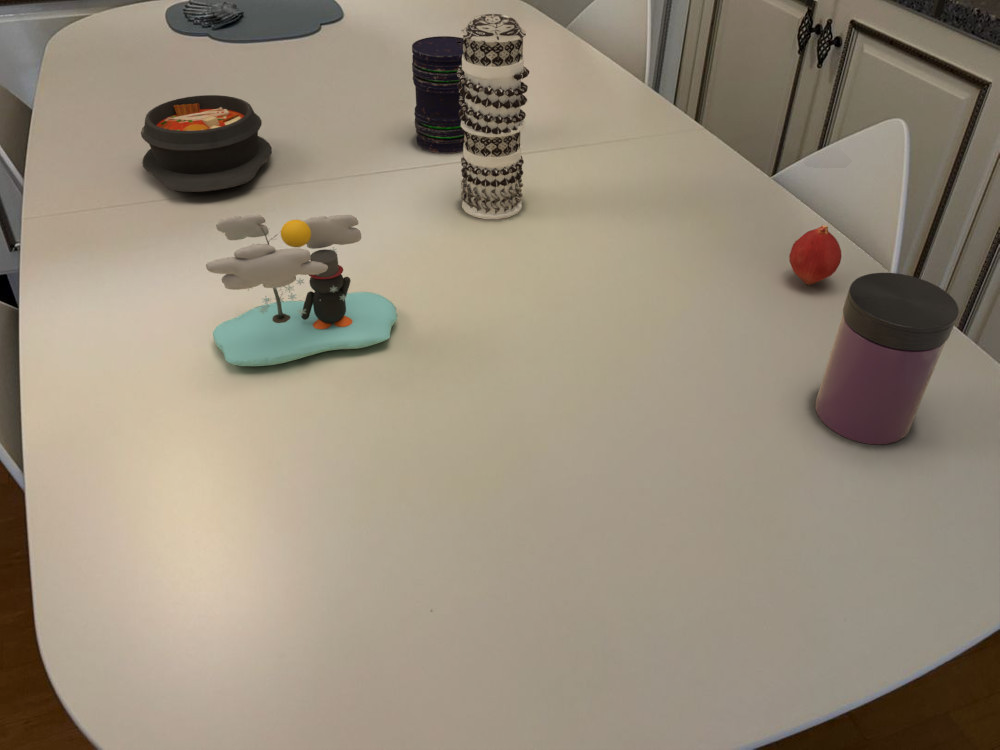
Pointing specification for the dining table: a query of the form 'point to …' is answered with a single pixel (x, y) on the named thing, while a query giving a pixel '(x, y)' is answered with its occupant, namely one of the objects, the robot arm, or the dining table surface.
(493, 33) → the decorative candle
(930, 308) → the jar lid
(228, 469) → the dining table surface
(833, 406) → the jar
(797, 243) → the red pomegranate
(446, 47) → the storage jar
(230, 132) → the casserole
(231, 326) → the penguin figurine
